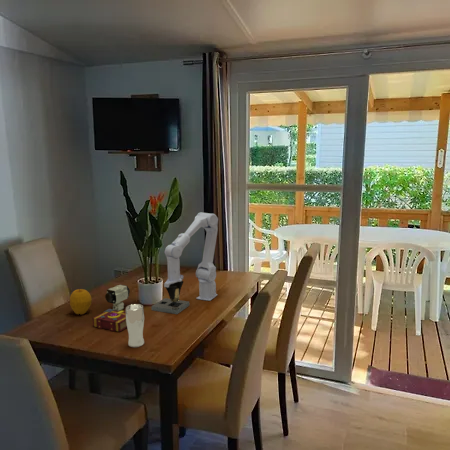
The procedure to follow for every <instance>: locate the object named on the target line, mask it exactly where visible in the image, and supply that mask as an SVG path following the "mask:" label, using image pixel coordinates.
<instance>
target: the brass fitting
mask: <svg viewBox="0 0 450 450" xmlns="http://www.w3.org/2000/svg"><path fill="white" fill-rule="evenodd" d="M179 300H180V295H179V288H178V287H176V291H175V299H171V301H172V302H177V301H179Z"/></svg>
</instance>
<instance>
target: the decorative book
mask: <svg viewBox="0 0 450 450" xmlns="http://www.w3.org/2000/svg"><path fill="white" fill-rule="evenodd" d="M92 327H94V328H95V327H96V328H98V329H100V330H102V329H105V330H109V331H110V332H115V331H116V332H118V333H119V332H122V331H124V330H126V329H127V325H126V311H125V310H120V311H117V310H113V308H112V309H111V308H108V309H106V310H104V311H103V312H101V313H99V314H97V315H95V316H94V317H92Z"/></svg>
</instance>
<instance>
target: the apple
mask: <svg viewBox="0 0 450 450" xmlns="http://www.w3.org/2000/svg"><path fill="white" fill-rule="evenodd" d="M92 300H93V299H92V295H91V294H90V292H89V291H88V290H86V289H83V288H78V289H75V290H73V291H72V292H71V294H70V295H69V305H70V308H71V310H72V311H73V312H74V314H76V315H79V314H80V315H84V314H86V313H88V310H89V309H90V307H91V305H92Z"/></svg>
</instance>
